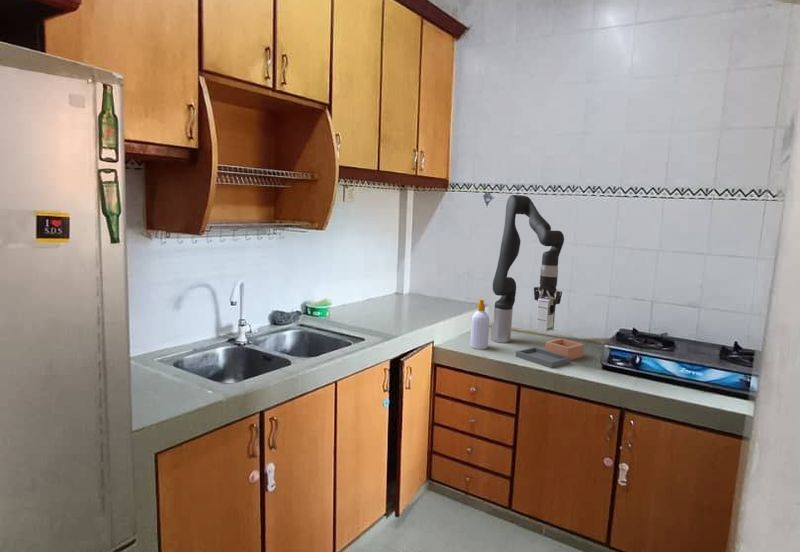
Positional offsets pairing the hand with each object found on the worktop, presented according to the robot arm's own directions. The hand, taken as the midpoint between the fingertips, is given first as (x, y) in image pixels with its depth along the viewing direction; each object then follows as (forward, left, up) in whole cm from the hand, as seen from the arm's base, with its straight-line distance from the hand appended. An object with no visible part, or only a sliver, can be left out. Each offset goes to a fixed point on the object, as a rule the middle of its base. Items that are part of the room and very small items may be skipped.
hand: (546, 311), depth 237 cm
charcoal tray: (0, 0, -23) cm, 23 cm away
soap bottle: (-31, -10, -23) cm, 40 cm away
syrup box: (0, 0, -9) cm, 9 cm away
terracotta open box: (+1, +15, -23) cm, 27 cm away
